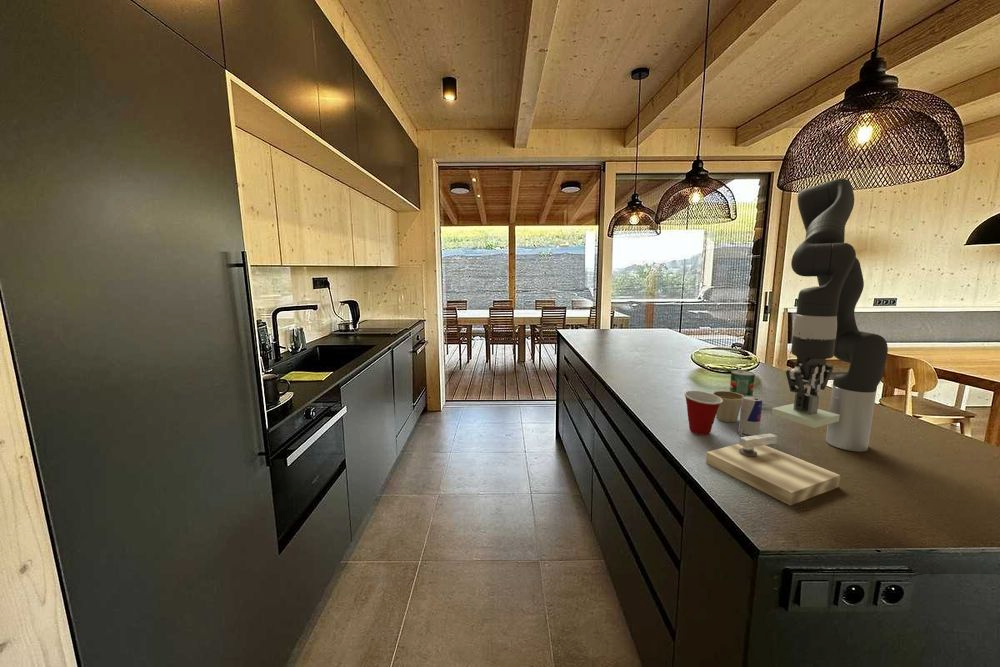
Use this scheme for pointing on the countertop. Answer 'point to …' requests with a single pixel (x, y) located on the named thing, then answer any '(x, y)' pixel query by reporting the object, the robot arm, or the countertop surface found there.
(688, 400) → the plastic cup
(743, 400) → the energy drink
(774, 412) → the snap lid
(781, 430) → the countertop surface
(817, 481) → the latch base
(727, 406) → the flower pot
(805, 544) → the countertop surface
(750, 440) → the grey long bar
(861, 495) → the countertop surface
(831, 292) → the robot arm
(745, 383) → the canned tomato
